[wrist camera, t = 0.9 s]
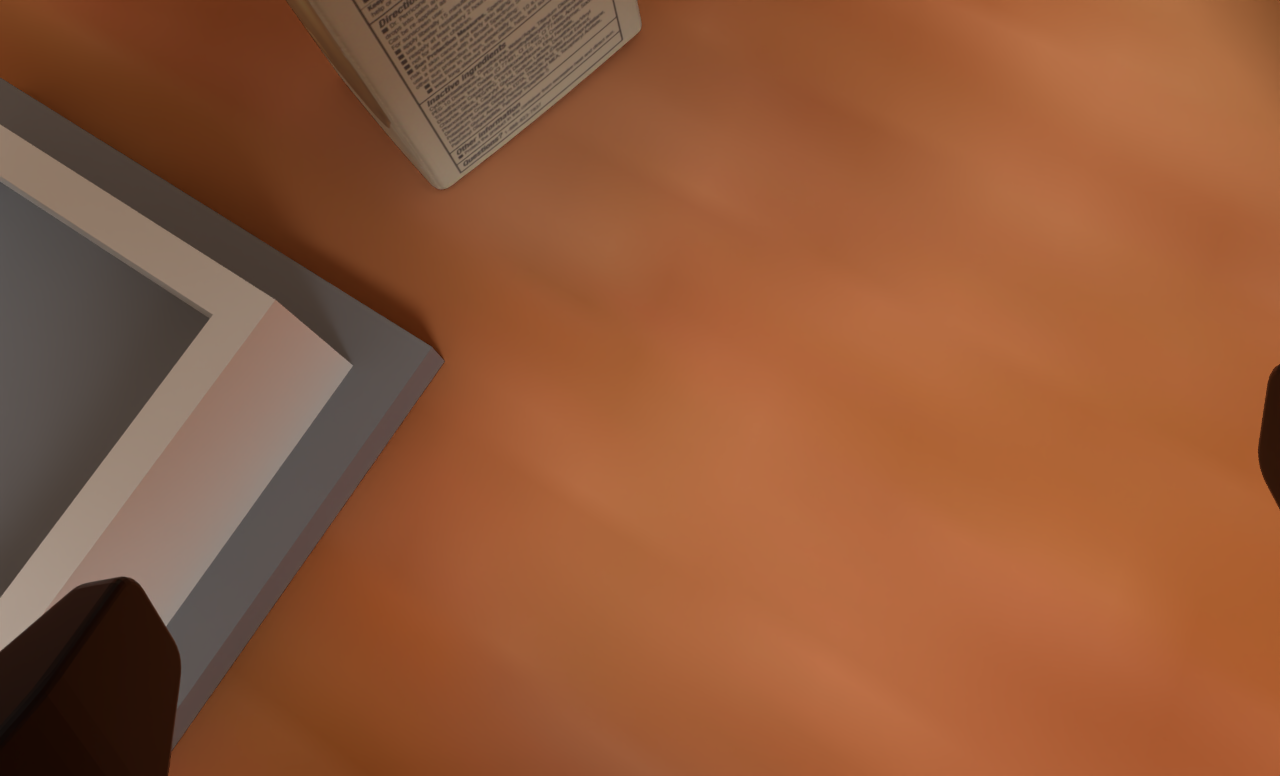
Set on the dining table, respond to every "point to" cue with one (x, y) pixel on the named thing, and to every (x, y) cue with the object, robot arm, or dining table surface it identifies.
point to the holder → (170, 396)
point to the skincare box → (463, 66)
